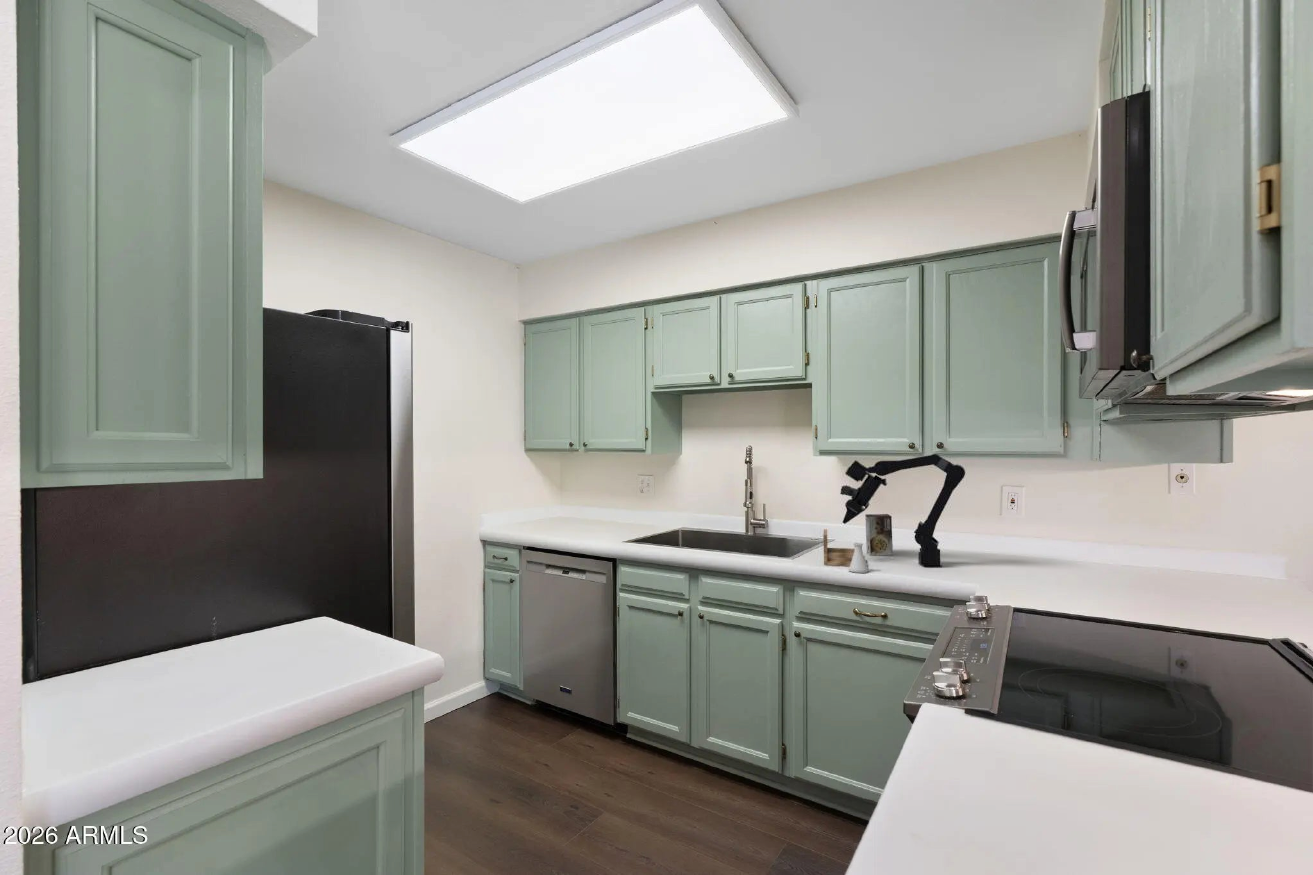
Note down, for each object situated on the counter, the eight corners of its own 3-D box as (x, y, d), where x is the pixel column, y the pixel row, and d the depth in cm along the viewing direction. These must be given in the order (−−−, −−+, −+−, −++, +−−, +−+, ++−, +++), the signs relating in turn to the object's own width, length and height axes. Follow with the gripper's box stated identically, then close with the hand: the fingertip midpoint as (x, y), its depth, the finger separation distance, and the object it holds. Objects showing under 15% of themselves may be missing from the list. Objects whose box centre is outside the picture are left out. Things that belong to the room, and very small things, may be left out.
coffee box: (888, 552, 246) (887, 513, 246) (893, 555, 240) (892, 515, 240) (865, 552, 247) (864, 513, 247) (869, 555, 241) (868, 515, 241)
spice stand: (864, 559, 234) (863, 530, 234) (866, 567, 220) (865, 535, 220) (824, 558, 238) (823, 529, 238) (824, 565, 224) (823, 534, 224)
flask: (851, 568, 219) (851, 541, 219) (872, 570, 215) (871, 542, 215) (845, 572, 213) (844, 544, 213) (866, 574, 209) (865, 545, 209)
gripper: (854, 475, 242) (833, 507, 246) (845, 478, 226) (822, 512, 230) (878, 491, 238) (856, 523, 242) (871, 495, 221) (848, 529, 225)
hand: (845, 521), depth 235 cm, fingers open, 9 cm apart
